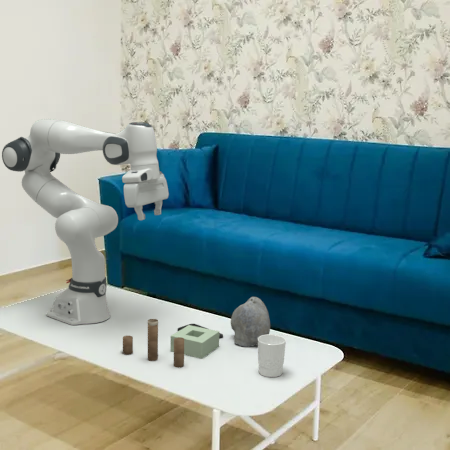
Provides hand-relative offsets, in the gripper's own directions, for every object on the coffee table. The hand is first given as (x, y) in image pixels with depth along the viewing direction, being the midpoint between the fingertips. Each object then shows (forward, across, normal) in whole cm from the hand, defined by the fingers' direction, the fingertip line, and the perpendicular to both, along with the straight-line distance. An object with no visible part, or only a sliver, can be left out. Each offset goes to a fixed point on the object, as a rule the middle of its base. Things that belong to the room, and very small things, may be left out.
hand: (150, 217), depth 199 cm
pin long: (+40, +19, +8) cm, 44 cm away
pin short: (+38, +18, -1) cm, 43 cm away
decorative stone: (+42, -8, +27) cm, 51 cm away
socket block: (+40, +6, +15) cm, 44 cm away
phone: (+41, -6, +10) cm, 43 cm away
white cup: (+44, +10, +42) cm, 62 cm away
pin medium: (+40, +19, +17) cm, 48 cm away
